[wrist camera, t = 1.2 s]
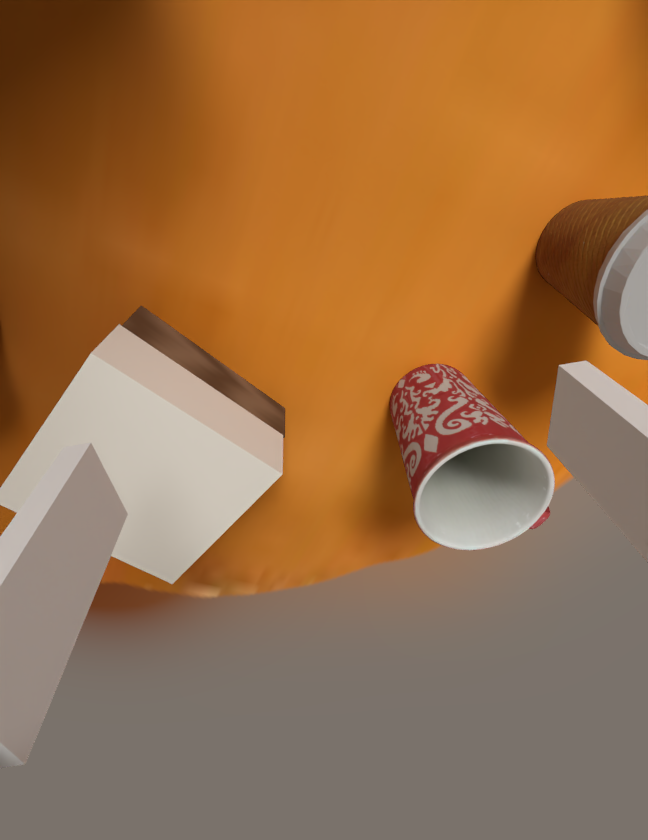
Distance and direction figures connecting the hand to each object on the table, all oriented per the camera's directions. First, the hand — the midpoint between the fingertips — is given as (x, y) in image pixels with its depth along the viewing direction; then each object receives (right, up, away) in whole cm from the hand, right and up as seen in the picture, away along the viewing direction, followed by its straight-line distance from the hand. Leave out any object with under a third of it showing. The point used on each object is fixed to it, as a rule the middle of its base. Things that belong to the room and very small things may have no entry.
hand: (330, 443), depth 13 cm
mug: (+10, +2, +28) cm, 30 cm away
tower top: (-13, -1, +22) cm, 26 cm away
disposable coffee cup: (+19, +14, +21) cm, 32 cm away
